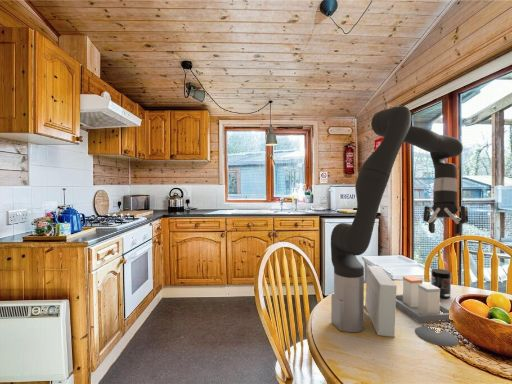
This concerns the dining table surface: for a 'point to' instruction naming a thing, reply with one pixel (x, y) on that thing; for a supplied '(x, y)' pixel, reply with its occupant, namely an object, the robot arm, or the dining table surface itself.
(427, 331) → the slate mat
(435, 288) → the white lid box
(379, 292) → the skincare box
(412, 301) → the rust lid box
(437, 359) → the dining table surface
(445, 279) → the supplement container
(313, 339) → the dining table surface
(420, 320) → the parts tray
